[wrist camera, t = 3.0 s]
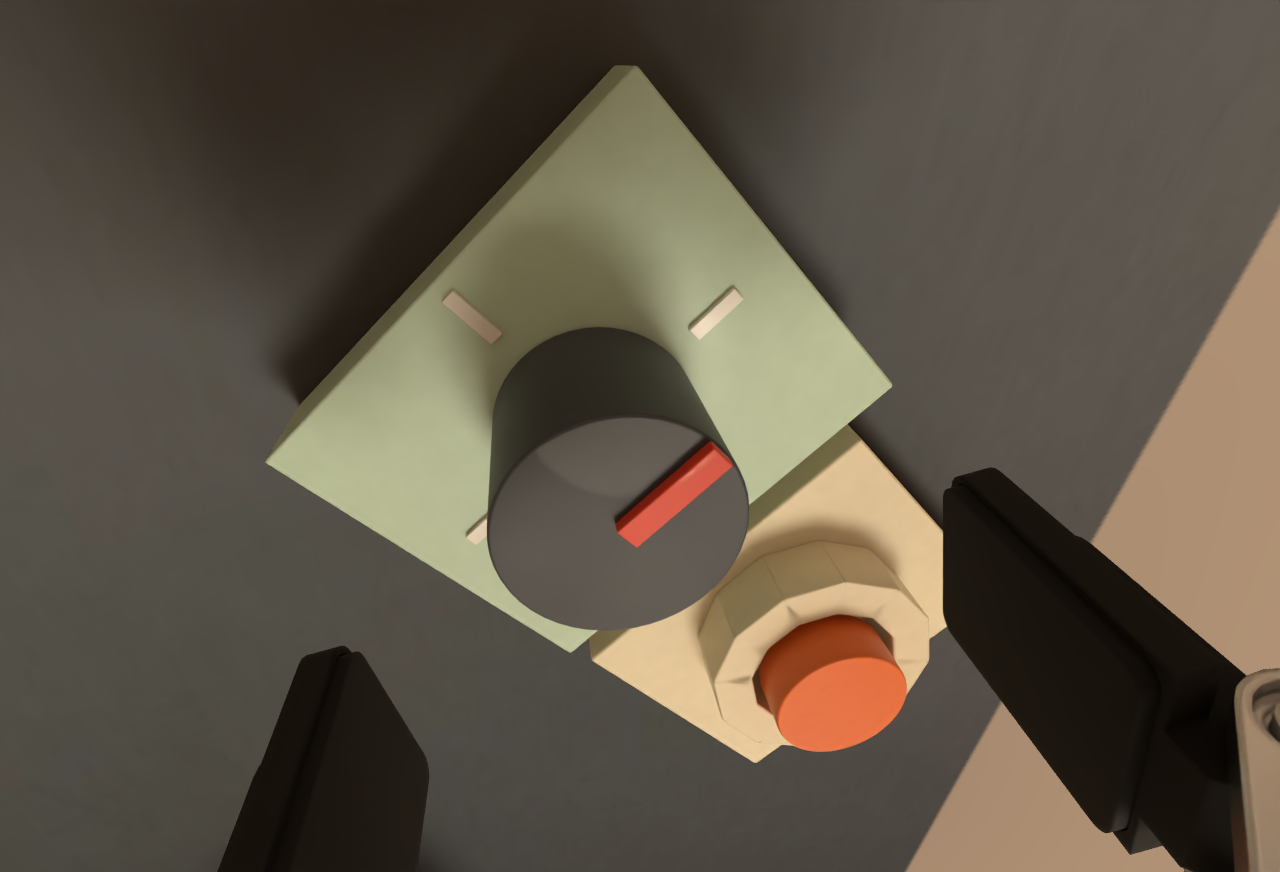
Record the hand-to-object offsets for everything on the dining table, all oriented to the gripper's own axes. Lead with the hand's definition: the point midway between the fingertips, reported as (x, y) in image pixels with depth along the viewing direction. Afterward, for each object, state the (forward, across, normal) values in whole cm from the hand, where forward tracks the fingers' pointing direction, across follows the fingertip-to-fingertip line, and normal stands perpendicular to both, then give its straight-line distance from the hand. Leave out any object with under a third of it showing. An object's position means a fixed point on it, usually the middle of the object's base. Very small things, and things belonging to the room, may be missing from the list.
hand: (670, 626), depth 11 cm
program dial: (+7, +1, 0) cm, 7 cm away
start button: (+7, -4, +10) cm, 13 cm away
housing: (+10, -4, +10) cm, 15 cm away
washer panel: (+10, +1, 0) cm, 10 cm away
